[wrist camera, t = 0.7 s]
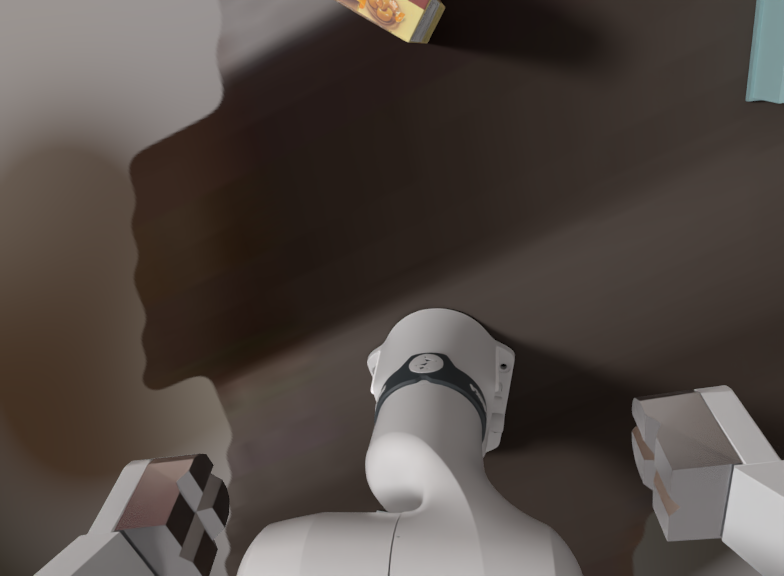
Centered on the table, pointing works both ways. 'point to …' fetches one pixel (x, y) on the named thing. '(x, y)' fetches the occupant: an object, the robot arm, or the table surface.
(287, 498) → the table surface
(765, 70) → the plinth
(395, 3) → the candy box
